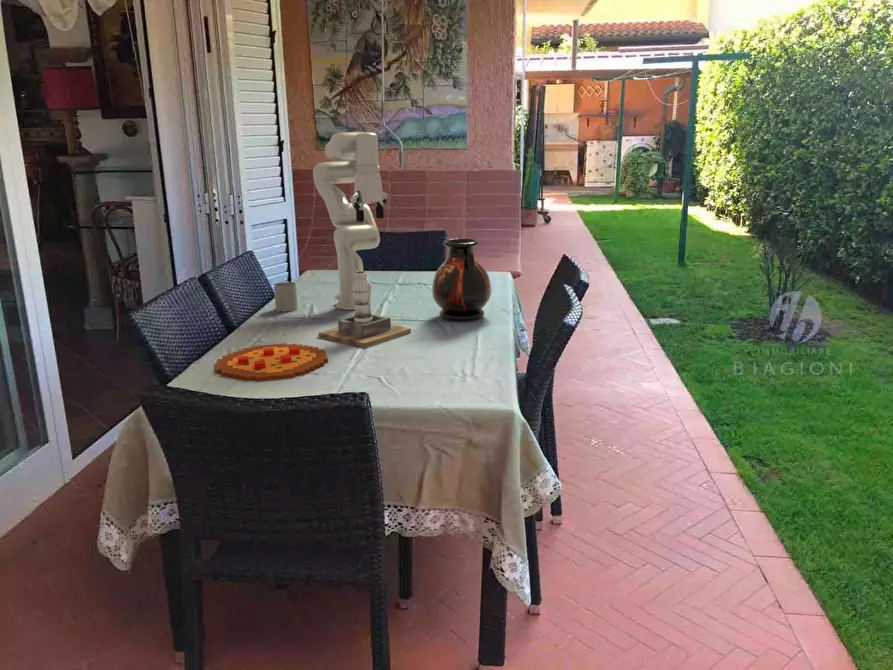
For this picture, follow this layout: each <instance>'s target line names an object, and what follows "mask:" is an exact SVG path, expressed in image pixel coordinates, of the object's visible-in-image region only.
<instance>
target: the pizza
mask: <svg viewBox="0 0 893 670" xmlns="http://www.w3.org/2000/svg"><path fill="white" fill-rule="evenodd" d="M326 363H329V358H328V356H327V353H326V351H325V349H324V348H321V349H319V346H313V345H309V346H308V344H307V345H306V344H305V345H303V344H298V343H290V344H289V343H287V342H284V343H272V344H271V343H270V344H262V345H252V347H243V348H242V349H238V350H237V351H232V353H227V355H222V356H221V358H217V359H216V375H218V374H219V375H220V374H221V377H227V378H233V379H234V380H235V379H238V380H239V381H241V380H244V382H248V381H255V382H265V381H275V380H282V379H291V378H292V379H293V378H296V376H304V375H305V376H306V373H311V371H315V370H316V369H320V367H325V364H326Z"/></svg>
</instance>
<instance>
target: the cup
mask: <svg viewBox="0 0 893 670" xmlns="http://www.w3.org/2000/svg"><path fill="white" fill-rule="evenodd" d="M273 292H274V302H275V303H274V305H275V311H276V310H277V311H276V312H278V311H283V312H282V313H287V312H286V311H291V312H295V311H297V310H299V304H298V294H297V293H298V292H297V283H296V282H293V281H283V282H276V283H274V284H273Z"/></svg>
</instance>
